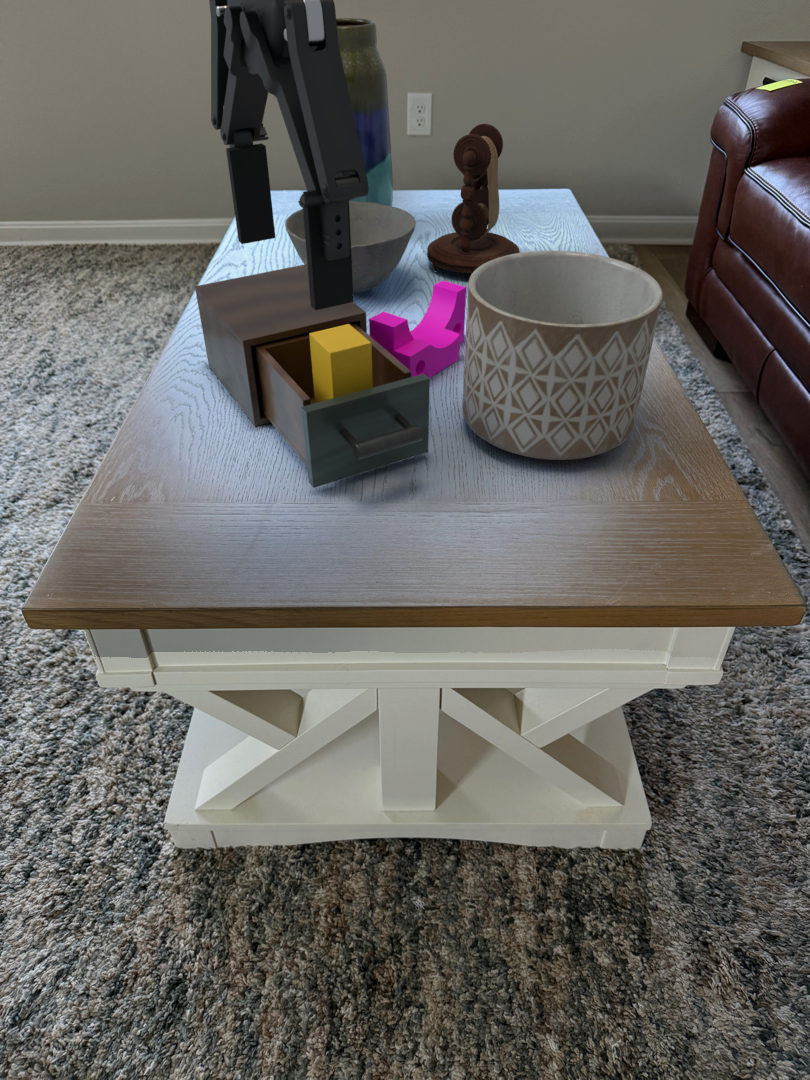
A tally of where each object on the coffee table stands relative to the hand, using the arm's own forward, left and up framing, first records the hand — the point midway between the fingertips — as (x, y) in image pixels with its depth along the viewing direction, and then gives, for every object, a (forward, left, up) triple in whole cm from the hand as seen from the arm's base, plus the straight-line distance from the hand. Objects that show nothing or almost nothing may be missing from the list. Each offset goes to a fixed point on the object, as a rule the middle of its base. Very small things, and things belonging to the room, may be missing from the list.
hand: (291, 269), depth 55 cm
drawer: (+10, +14, -26) cm, 31 cm away
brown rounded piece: (+51, +53, -27) cm, 78 cm away
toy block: (+28, +28, -27) cm, 48 cm away
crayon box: (+10, +15, -25) cm, 30 cm away
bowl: (+30, +54, -27) cm, 67 cm away
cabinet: (+10, +32, -27) cm, 43 cm away
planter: (+32, +8, -27) cm, 43 cm away
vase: (+41, +76, -27) cm, 90 cm away
